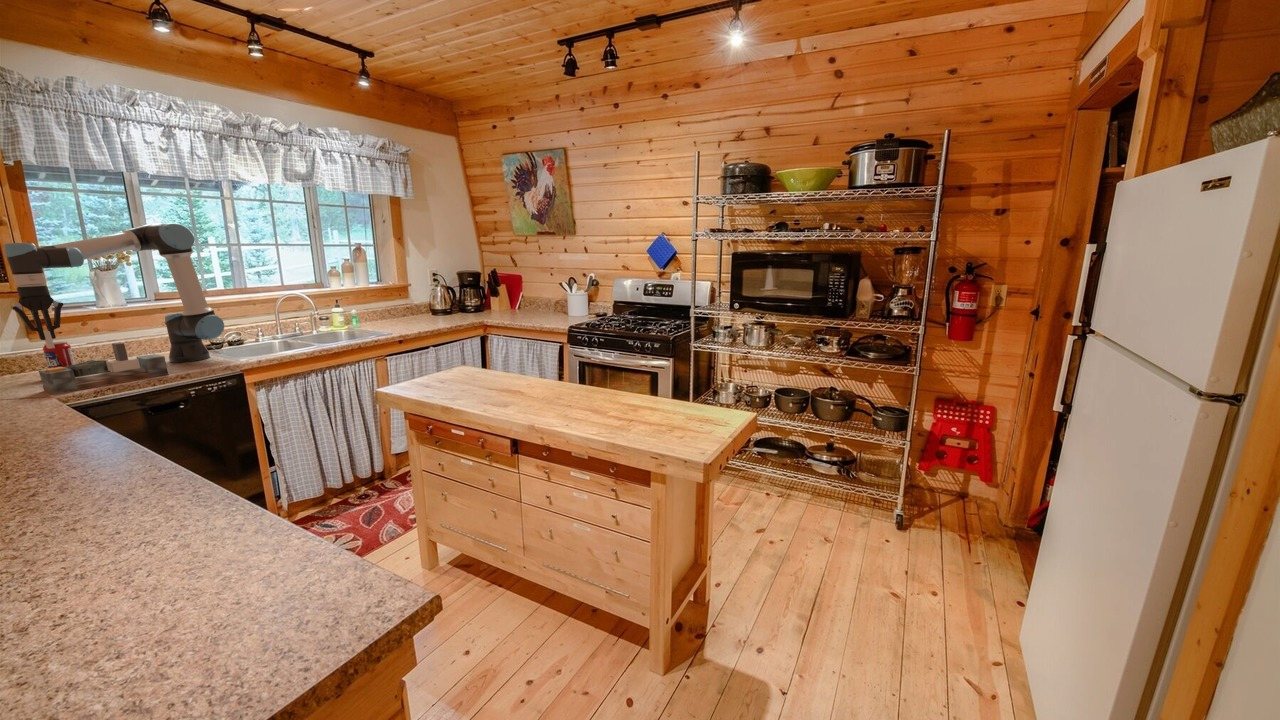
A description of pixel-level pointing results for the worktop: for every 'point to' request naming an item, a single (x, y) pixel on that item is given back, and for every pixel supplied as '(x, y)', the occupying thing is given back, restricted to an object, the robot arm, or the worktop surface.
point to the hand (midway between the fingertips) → (50, 347)
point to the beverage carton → (89, 368)
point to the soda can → (59, 355)
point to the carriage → (121, 359)
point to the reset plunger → (55, 369)
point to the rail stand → (102, 376)
